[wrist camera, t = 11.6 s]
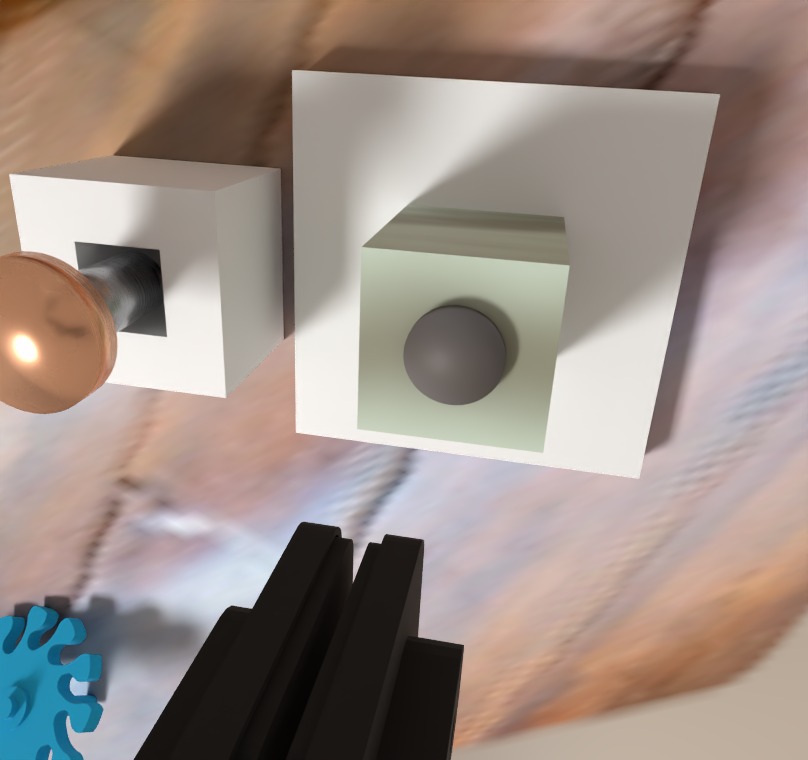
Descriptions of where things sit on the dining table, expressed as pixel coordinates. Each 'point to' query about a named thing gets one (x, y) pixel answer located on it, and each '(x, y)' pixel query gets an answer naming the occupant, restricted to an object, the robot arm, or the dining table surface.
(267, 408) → the dining table surface
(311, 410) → the press bed
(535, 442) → the block
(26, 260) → the press pin
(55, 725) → the gear
